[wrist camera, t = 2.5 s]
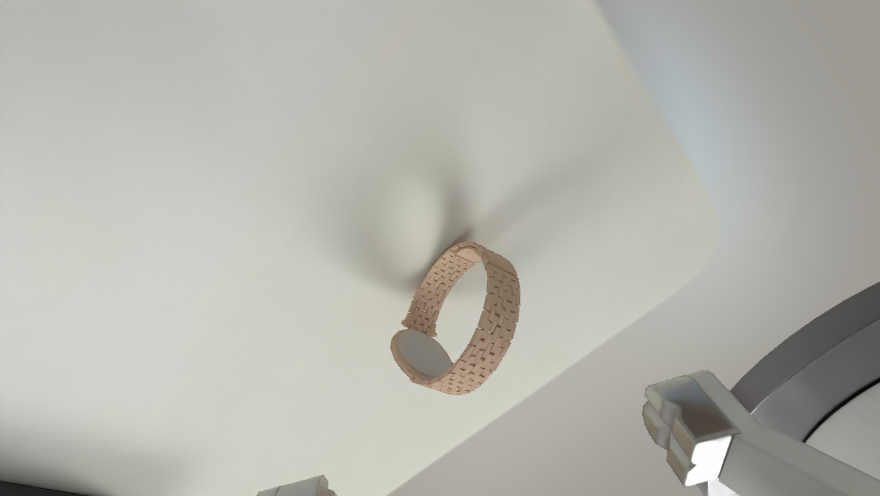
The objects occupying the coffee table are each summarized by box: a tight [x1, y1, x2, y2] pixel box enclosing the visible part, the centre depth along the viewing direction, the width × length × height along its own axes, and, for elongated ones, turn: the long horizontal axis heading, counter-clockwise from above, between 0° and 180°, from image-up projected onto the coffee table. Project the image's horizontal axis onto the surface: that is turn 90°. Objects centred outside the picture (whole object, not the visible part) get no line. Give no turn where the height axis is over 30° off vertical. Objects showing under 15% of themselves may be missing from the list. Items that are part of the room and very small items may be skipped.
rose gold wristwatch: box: [390, 241, 520, 395], centre depth 15 cm, size 3×5×5 cm, turn 146°
